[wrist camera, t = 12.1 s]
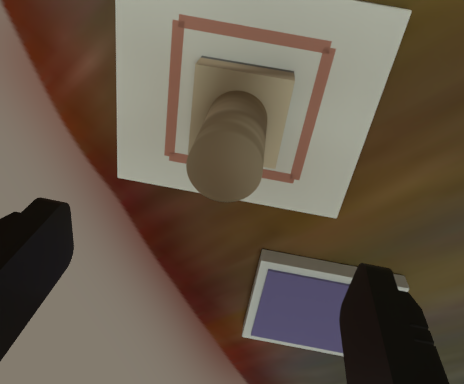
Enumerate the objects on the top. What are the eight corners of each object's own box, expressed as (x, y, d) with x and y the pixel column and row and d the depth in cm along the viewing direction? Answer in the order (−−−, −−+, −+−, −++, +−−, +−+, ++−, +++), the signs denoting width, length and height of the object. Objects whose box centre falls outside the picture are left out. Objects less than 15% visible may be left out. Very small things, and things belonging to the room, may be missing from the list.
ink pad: (404, 275, 27) (410, 290, 26) (366, 348, 31) (369, 363, 30) (261, 248, 27) (261, 262, 26) (243, 324, 31) (241, 338, 30)
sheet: (408, 9, 18) (412, 10, 18) (335, 213, 25) (336, 218, 24) (119, -43, 19) (114, -42, 18) (120, 173, 25) (117, 177, 24)
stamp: (294, 71, 20) (299, 123, 14) (275, 154, 22) (273, 229, 16) (201, 55, 20) (166, 100, 14) (194, 140, 23) (161, 209, 16)
